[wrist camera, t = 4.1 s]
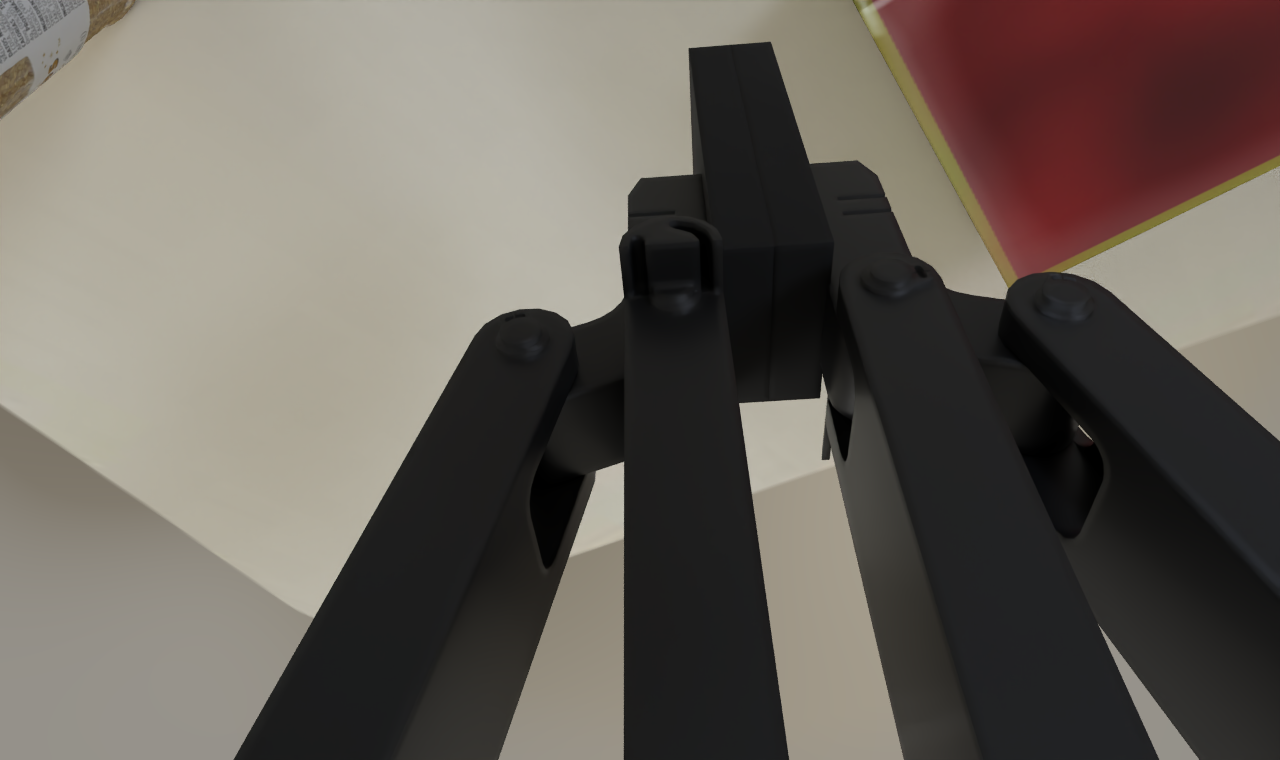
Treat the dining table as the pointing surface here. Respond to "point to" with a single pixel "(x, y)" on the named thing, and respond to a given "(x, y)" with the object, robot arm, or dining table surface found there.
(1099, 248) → the hardcover book
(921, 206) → the dining table surface
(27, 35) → the sprinkles bottle
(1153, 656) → the robot arm
